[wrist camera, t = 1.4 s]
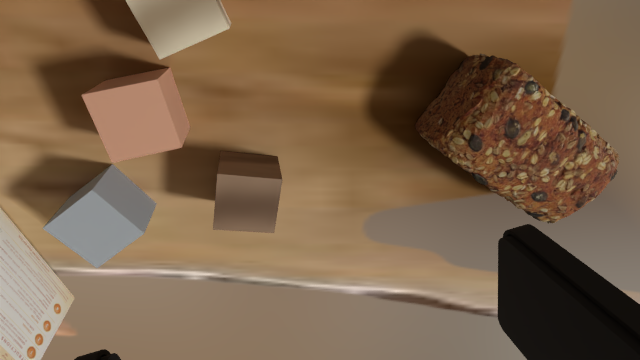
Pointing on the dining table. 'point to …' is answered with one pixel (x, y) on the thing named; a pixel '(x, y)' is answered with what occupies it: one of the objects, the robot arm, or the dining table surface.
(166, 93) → the terracotta block
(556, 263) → the robot arm
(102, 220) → the slate block
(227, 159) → the walnut block
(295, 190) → the dining table surface
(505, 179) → the bread
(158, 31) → the beech block
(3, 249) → the coffeecake box
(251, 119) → the dining table surface
